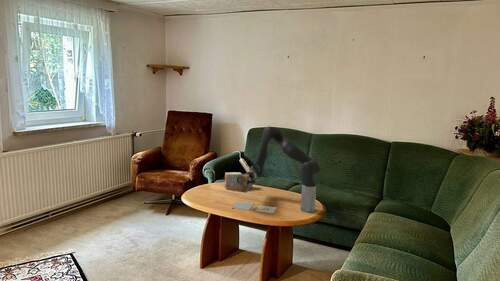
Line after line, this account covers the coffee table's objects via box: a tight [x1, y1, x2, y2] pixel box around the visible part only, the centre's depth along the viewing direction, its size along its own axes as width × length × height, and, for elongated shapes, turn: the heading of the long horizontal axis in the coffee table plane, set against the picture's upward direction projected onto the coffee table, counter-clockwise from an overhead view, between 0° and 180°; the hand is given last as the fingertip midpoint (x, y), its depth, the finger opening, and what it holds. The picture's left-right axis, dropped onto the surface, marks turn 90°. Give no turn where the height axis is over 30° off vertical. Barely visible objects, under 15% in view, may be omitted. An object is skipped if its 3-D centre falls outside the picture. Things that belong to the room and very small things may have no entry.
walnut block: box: [238, 173, 250, 194], centre depth 247 cm, size 6×6×11 cm
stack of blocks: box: [224, 171, 253, 190], centre depth 293 cm, size 21×6×12 cm, turn 102°
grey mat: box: [231, 201, 255, 211], centre depth 250 cm, size 12×12×1 cm
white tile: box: [255, 204, 278, 214], centre depth 245 cm, size 12×12×1 cm
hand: (242, 182), depth 245 cm, fingers closed on walnut block, 5 cm apart
